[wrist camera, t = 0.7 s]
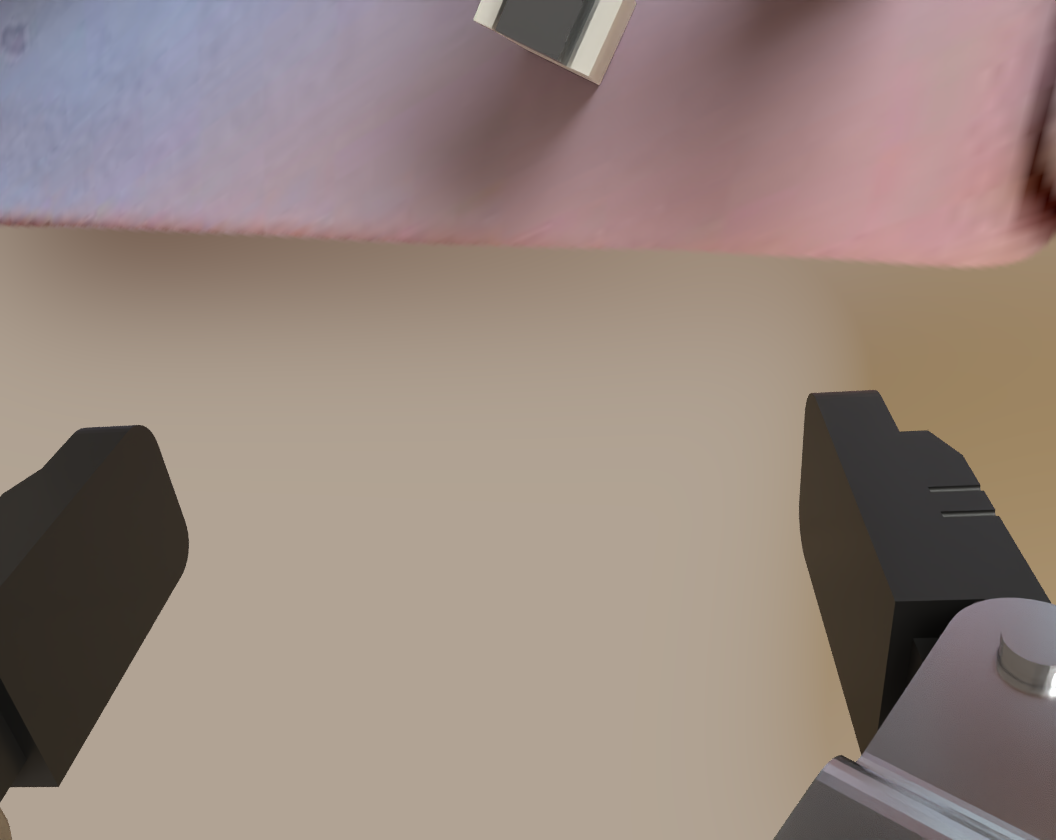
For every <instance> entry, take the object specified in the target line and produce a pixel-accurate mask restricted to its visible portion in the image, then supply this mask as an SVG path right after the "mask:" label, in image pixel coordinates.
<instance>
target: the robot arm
mask: <svg viewBox="0 0 1056 840" xmlns="http://www.w3.org/2000/svg"><path fill="white" fill-rule="evenodd" d="M799 520H800V534H801V541H802V548H803V553H804V557H805V561H806V564H807V568H808V571H809V574H810V578H811V581H812V585H813V588H814V592H815V595H816V599H817V602H818V605H819V609H820V613H821V616H822V620H823V623H824V627H825V630H826V633H827V637H828V640H829V644H830V647H831V651H832V654H833V657H834V661H835V665H836V668H837V672H838V675H839V679H840V682H841V685H842V689H843V693H844V696H845V699H846V703H847V706H848V710H849V713H850V716H851V720H852V724H853V727H854V730H855V734H856V738H857V741H858V744H859V748H860V752H861V757H860V758H859V759H858V760H857V761H856V762H854V761H852V760H850V759H848V758H846V757H844V756H842V755H840V756H837V757H835V758H833V759H832V760H831V761H829V762H828V763H827V764H826V766H825V767H824V768H823V769H822V770H821V771H820V773H819V774H818V776H817V777H816V778H815V780H814V781H813V782H812V784H811V785H810V787H809V788H808V790H807V791H806V793H805V794H804V796H803V797H802V798H801V800H800V801H799V803H798V804H797V806H796V807H795V808H794V810H793V811H792V813H791V814H790V816H789V817H788V819H787V820H786V822H785V823H784V824H783V826H782V827H781V829H780V830H779V832H778V833H777V835H776V836H775V837H774V839H773V840H1056V605H1054V604H1051V602H1050V600H1049V599H1048V597H1047V595H1046V594H1045V592H1044V590H1043V589H1042V587H1041V585H1040V584H1039V582H1038V580H1037V579H1036V577H1035V575H1034V574H1033V572H1032V570H1031V569H1030V567H1029V565H1028V564H1027V562H1026V560H1025V559H1024V557H1023V555H1022V554H1021V552H1020V550H1019V549H1018V547H1017V545H1016V544H1015V542H1014V540H1013V539H1012V537H1011V535H1010V534H1009V532H1008V530H1007V529H1006V527H1005V525H1004V524H1003V522H1002V520H1001V519H1000V517H999V516H996V515H995V509H994V507H993V505H992V504H991V502H990V500H989V499H988V497H987V495H986V494H985V492H984V491H981V490H980V483H979V482H978V480H977V479H976V477H975V475H974V474H973V472H972V470H971V468H970V467H969V465H968V464H967V462H966V460H965V458H964V457H963V455H962V454H960V453H959V452H957V451H956V450H955V449H953V448H952V447H950V446H949V445H948V444H946V443H945V442H943V441H942V440H941V439H939V438H937V437H936V436H935V435H934V434H932V433H931V432H929V431H906V432H899V430H898V428H897V426H896V424H895V422H894V420H893V418H892V416H891V414H890V412H889V411H888V409H887V407H886V405H885V403H884V401H883V399H882V397H881V395H880V394H879V392H878V391H876V390H865V391H847V392H825V393H811V394H809V396H808V398H807V402H806V408H805V421H804V436H803V453H802V468H801V484H800V501H799ZM188 549H189V539H188V531H187V526H186V523H185V520H184V517H183V514H182V511H181V508H180V505H179V503H178V500H177V497H176V494H175V491H174V488H173V486H172V483H171V480H170V477H169V474H168V472H167V469H166V466H165V463H164V460H163V457H162V455H161V452H160V449H159V446H158V444H157V441H156V439H155V437H154V435H153V434H152V432H151V431H150V430H149V429H148V428H146V427H144V426H141V425H132V426H113V427H92V428H83V429H80V430H78V431H76V432H75V433H74V434H73V435H72V436H71V437H70V438H69V439H68V440H67V442H66V443H65V444H64V445H63V446H62V447H61V448H60V449H59V450H58V451H57V453H56V454H55V455H54V456H53V457H52V458H51V459H50V460H49V461H48V462H47V464H46V465H45V466H44V467H43V468H42V469H41V470H39V471H37V472H36V473H34V474H33V475H31V476H30V477H28V478H26V479H25V480H24V481H22V482H20V483H19V484H17V485H16V486H14V487H13V488H11V489H10V490H8V491H7V492H5V493H3V494H2V495H1V497H0V802H1V800H2V799H3V797H4V796H5V794H6V792H7V791H8V789H9V788H10V787H59V785H60V783H61V782H62V780H63V778H64V777H65V775H66V773H67V771H68V770H69V768H70V766H71V765H72V763H73V761H74V759H75V758H76V756H77V754H78V753H79V751H80V749H81V747H82V746H83V744H84V742H85V741H86V739H87V737H88V736H89V734H90V732H91V730H92V729H93V727H94V725H95V723H96V722H97V720H98V718H99V717H100V715H101V713H102V711H103V710H104V708H105V706H106V705H107V703H108V701H109V699H110V698H111V696H112V694H113V693H114V691H115V689H116V687H117V686H118V684H119V682H120V680H121V679H122V677H123V675H124V674H125V672H126V670H127V669H128V667H129V665H130V663H131V662H132V660H133V658H134V656H135V655H136V653H137V651H138V650H139V648H140V646H141V645H142V643H143V641H144V639H145V638H146V636H147V634H148V633H149V631H150V629H151V627H152V626H153V624H154V622H155V620H156V619H157V617H158V615H159V614H160V612H161V610H162V608H163V607H164V605H165V603H166V602H167V600H168V598H169V596H170V595H171V593H172V591H173V589H174V588H175V586H176V584H177V583H178V581H179V579H180V578H181V576H182V574H183V572H184V569H185V566H186V562H187V558H188ZM0 840H12V837H11V831H10V826H9V823H8V820H7V818H6V817H5V815H4V813H3V812H2V810H1V808H0Z"/></svg>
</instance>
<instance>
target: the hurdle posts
mask: <svg viewBox="0 0 1056 840" xmlns="http://www.w3.org/2000/svg"><path fill="white" fill-rule="evenodd" d="M506 2H507V0H481V2H480V4H479V7H478V9H477V12H476V14H475V17H474V19H473V20H474V21H476V22H478V23H479V24H481V25H483V26H485V27H487V28H489V29H491V30H493V31H495V32H497V31H496V30H495V29H496V26H497V24H498V22H499V19H500V17H501V14H502V12H503V9H504V7H505V5H506ZM635 6H636V2H635V0H595V3H594V5H593V7H592V9H591V12H590V14H589V16H588V18H587V21H586V23H585V25H584V27H583V30H582V32H581V34H580V36H579V39H578V41H577V43H576V46H575V48H574V50H573V52H572V55H571V57H570V59H569V61H568V64H567V66H565V65H563V64H561V63H559V62H557V61H554V60H552V59H550V58H548V57H546V56H544V55H542V54H540V53H538V52H536V51H534V50H532V49H530V48H528V47H526V46H524V45H522V44H520V43H518V42H516V41H514V40H512V39H510V38H508V37H506V36H504V35H502V34H501V33H499V32H497V33H498V34H500V35H502V36H504V37H505V38H507V39H509V40H510V41H512V42H514V43H516V44H517V45H519V46H521V47H523V48H524V49H526V50H528V51H530V52H532V53H534V54H536V55H538V56H540V57H542V58H544V59H546V60H548V61H551V62H553V63H555V64H557V65H559V66H561V67H563V68H565V69H567V70H569V71H571V72H573V73H575V74H577V75H579V76H581V77H583V78H585V79H587V80H589V81H591V82H593V83H595V84H598V85H600V83H601V81H602V79H603V76H604V74H605V72H606V70H607V68H608V66H609V63H610V61H611V59H612V57H613V55H614V52H615V50H616V48H617V46H618V44H619V41H620V39H621V37H622V35H623V33H624V30H625V28H626V26H627V24H628V22H629V20H630V17H631V15H632V13H633V11H634V9H635Z"/></svg>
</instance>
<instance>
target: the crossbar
mask: <svg viewBox="0 0 1056 840" xmlns="http://www.w3.org/2000/svg"><path fill="white" fill-rule="evenodd" d="M594 3H595V0H507V2H506V5H505V7H504V9H503V12H502V14H501V17H500V19H499V22H498V24H497V26H496V29H495V30H496V31H497V32H499V33H501V34H502V35H504V36H506V37H508V38H510V39H512V40H514V41H516V42H518V43H520V44H522V45H524V46H526V47H528V48H530V49H532V50H534V51H536V52H538V53H540V54H542V55H544V56H546V57H548V58H550V59H552V60H554V61H557V62H559V63H561V64H563V65H565V66H567V64H568V61H569V59H570V57H571V55H572V52H573V50H574V48H575V46H576V43H577V41H578V39H579V36H580V34H581V32H582V30H583V27H584V25H585V23H586V21H587V18H588V16H589V14H590V12H591V9H592V7H593V5H594Z"/></svg>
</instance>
